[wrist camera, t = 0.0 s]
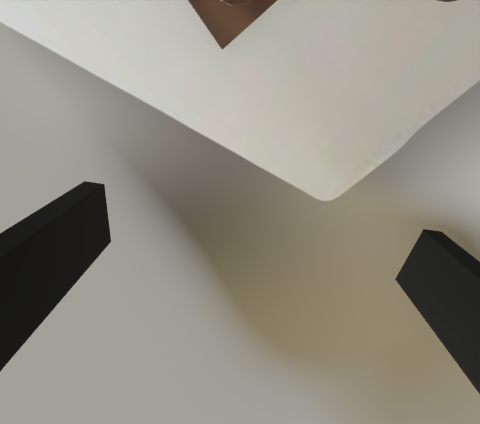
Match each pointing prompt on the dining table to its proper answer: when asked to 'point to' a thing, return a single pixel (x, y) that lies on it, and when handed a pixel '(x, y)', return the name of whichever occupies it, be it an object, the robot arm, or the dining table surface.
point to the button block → (229, 16)
